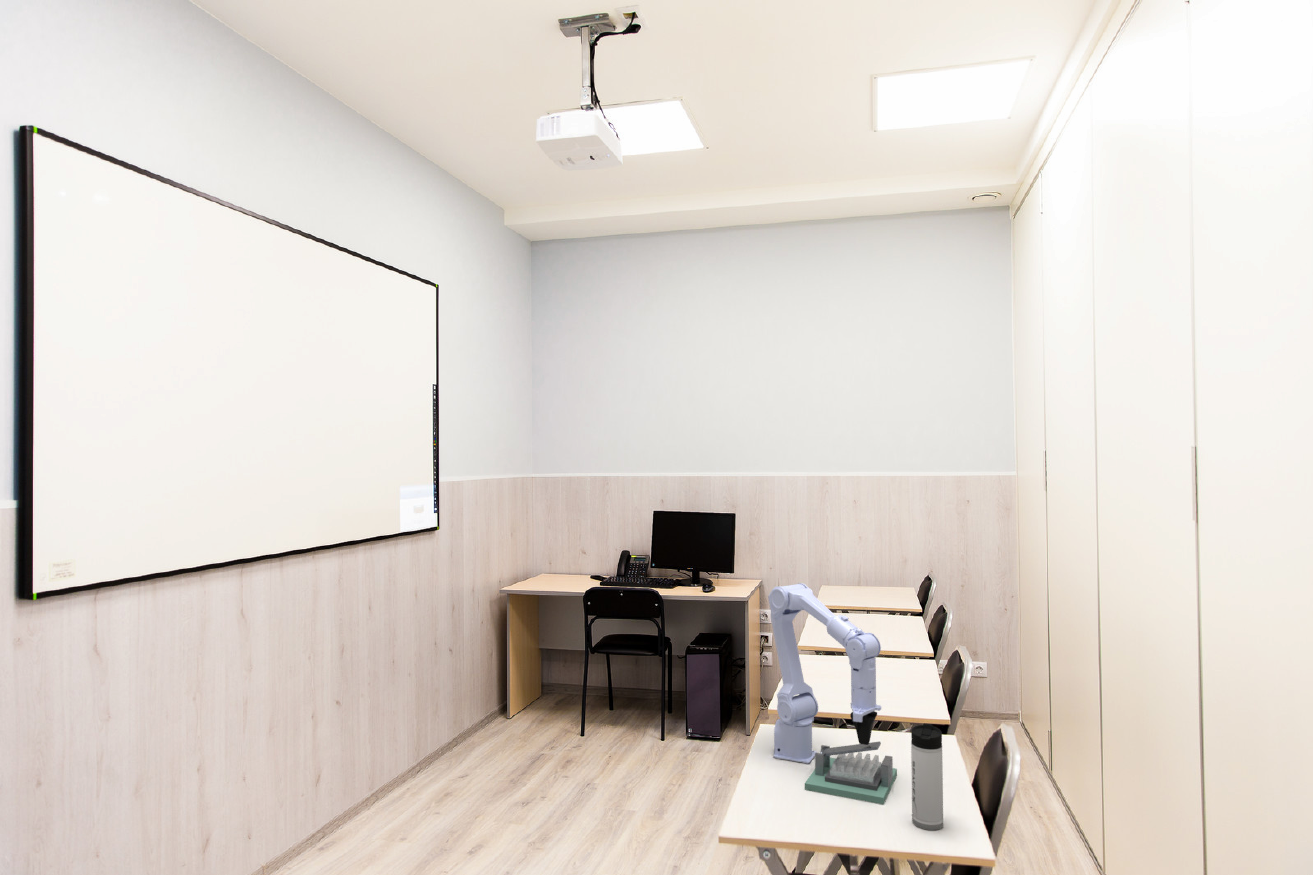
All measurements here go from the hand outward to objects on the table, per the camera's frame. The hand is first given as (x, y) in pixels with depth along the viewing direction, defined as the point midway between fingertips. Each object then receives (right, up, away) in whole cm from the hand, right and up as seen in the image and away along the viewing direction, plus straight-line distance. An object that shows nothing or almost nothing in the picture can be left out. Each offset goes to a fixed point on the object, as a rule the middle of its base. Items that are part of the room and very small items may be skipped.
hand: (864, 743), depth 185 cm
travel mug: (+8, -9, -20) cm, 23 cm away
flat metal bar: (-3, -2, +1) cm, 4 cm away
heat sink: (-2, -8, +1) cm, 8 cm away
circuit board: (-3, -10, +1) cm, 10 cm away
